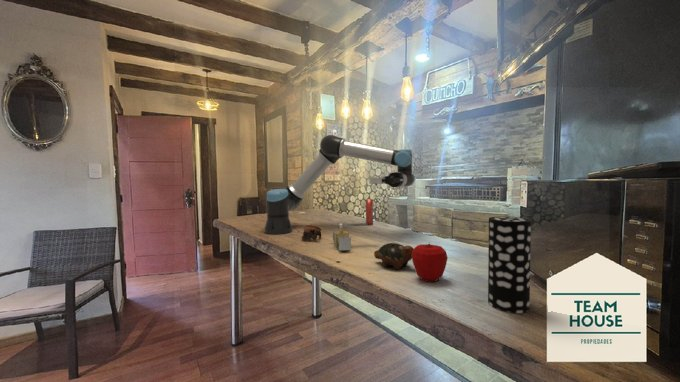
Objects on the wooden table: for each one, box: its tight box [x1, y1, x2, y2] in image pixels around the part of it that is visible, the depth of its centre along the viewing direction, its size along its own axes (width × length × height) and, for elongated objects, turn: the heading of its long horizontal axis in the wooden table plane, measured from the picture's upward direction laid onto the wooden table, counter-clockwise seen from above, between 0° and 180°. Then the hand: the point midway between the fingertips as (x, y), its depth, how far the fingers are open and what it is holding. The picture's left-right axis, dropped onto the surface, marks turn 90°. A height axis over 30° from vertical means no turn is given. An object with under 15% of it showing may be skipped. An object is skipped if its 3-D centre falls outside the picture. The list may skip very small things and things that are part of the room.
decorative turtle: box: [373, 242, 415, 271], centre depth 97 cm, size 10×15×8 cm, turn 53°
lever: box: [337, 198, 374, 228], centre depth 125 cm, size 15×3×11 cm, turn 99°
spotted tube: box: [487, 216, 532, 314], centre depth 67 cm, size 8×8×20 cm
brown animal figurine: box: [301, 224, 322, 243], centre depth 140 cm, size 12×10×8 cm
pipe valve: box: [332, 227, 352, 252], centre depth 125 cm, size 19×6×8 cm, turn 9°
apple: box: [411, 242, 449, 283], centre depth 84 cm, size 10×10×11 cm
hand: (373, 180), depth 129 cm, fingers open, 3 cm apart
